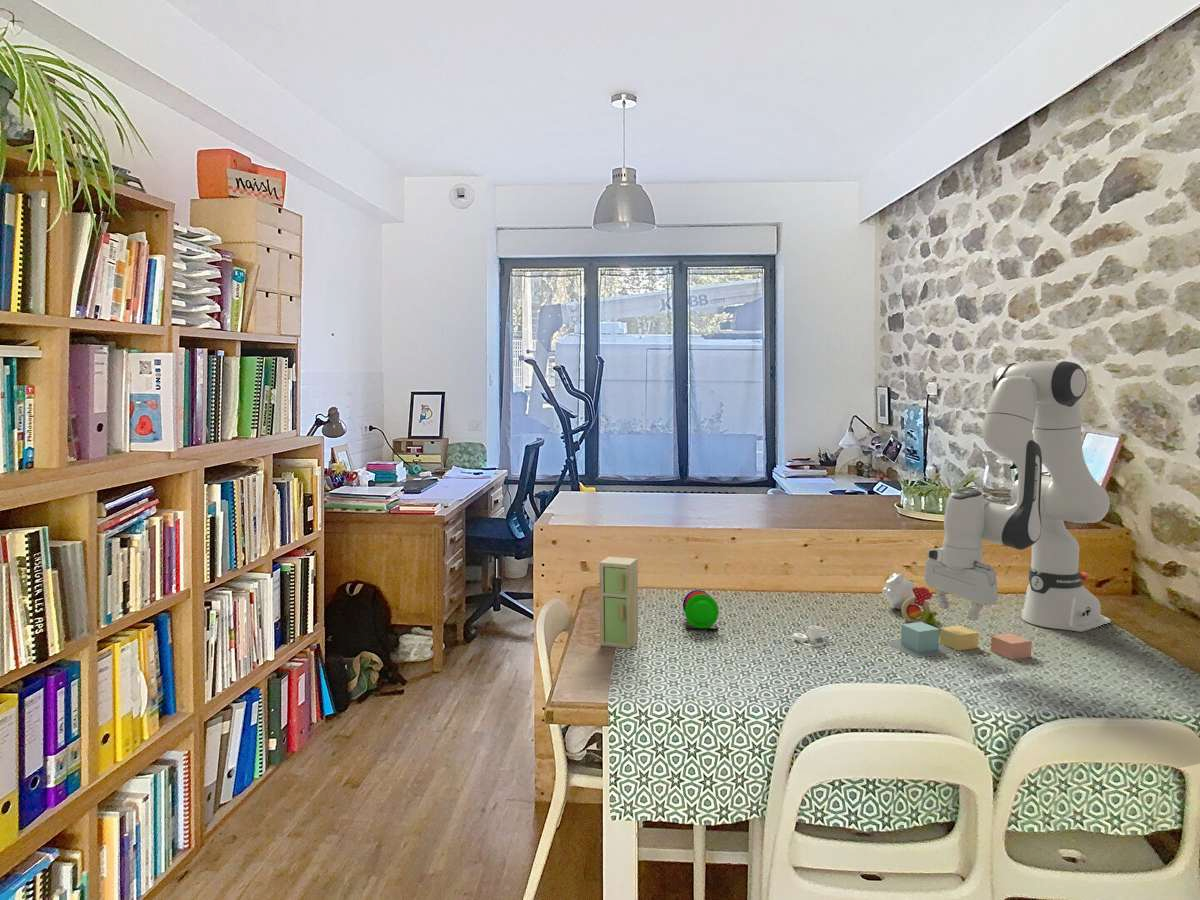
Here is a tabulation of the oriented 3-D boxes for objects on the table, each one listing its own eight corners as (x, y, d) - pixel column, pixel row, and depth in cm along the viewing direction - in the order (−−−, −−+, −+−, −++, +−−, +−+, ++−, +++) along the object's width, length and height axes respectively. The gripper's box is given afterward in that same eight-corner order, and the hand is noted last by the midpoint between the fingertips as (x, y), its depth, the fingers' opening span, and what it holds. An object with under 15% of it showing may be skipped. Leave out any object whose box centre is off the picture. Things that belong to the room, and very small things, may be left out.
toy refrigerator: (598, 646, 204) (598, 562, 202) (608, 637, 211) (608, 556, 209) (629, 650, 201) (629, 565, 199) (638, 641, 208) (638, 558, 206)
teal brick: (920, 641, 205) (921, 621, 204) (938, 649, 199) (939, 629, 198) (900, 644, 202) (901, 624, 202) (918, 652, 197) (918, 631, 196)
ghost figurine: (887, 602, 243) (888, 568, 242) (921, 607, 238) (922, 573, 237) (877, 609, 236) (879, 574, 235) (912, 615, 230) (913, 579, 229)
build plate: (921, 641, 208) (922, 636, 208) (957, 657, 197) (957, 652, 197) (882, 646, 204) (882, 642, 204) (916, 663, 193) (916, 658, 193)
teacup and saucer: (788, 642, 209) (789, 626, 208) (805, 635, 215) (805, 619, 214) (820, 650, 203) (821, 634, 202) (836, 642, 209) (837, 627, 208)
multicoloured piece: (682, 625, 229) (686, 633, 214) (678, 590, 230) (683, 596, 215) (714, 622, 229) (722, 629, 214) (711, 587, 230) (718, 592, 215)
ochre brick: (958, 645, 206) (959, 625, 206) (977, 652, 201) (978, 632, 200) (939, 647, 204) (940, 628, 204) (957, 655, 199) (958, 635, 198)
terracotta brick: (1010, 653, 200) (1011, 633, 200) (1030, 661, 195) (1031, 641, 194) (990, 656, 198) (991, 635, 198) (1010, 664, 193) (1011, 643, 192)
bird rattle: (913, 637, 218) (947, 625, 217) (897, 598, 217) (930, 586, 216) (907, 630, 224) (940, 618, 223) (891, 592, 224) (924, 580, 222)
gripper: (1006, 566, 191) (1002, 625, 193) (941, 548, 210) (938, 601, 212) (984, 567, 189) (981, 627, 190) (921, 549, 208) (918, 603, 210)
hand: (958, 613), depth 201 cm, fingers open, 8 cm apart
